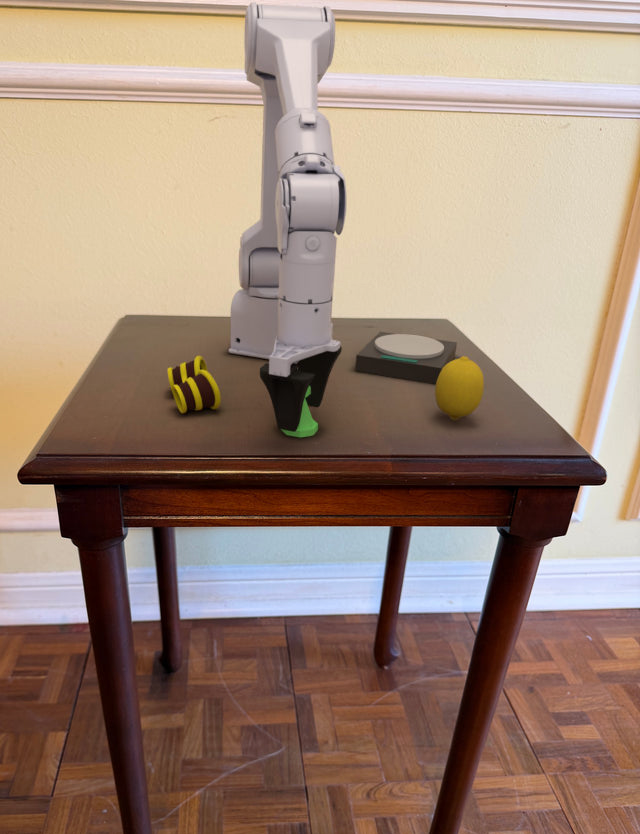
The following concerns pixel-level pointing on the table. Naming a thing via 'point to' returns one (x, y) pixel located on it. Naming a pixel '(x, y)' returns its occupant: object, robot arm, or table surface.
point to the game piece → (304, 421)
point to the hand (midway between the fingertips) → (299, 416)
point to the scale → (405, 356)
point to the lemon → (459, 388)
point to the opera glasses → (193, 386)
